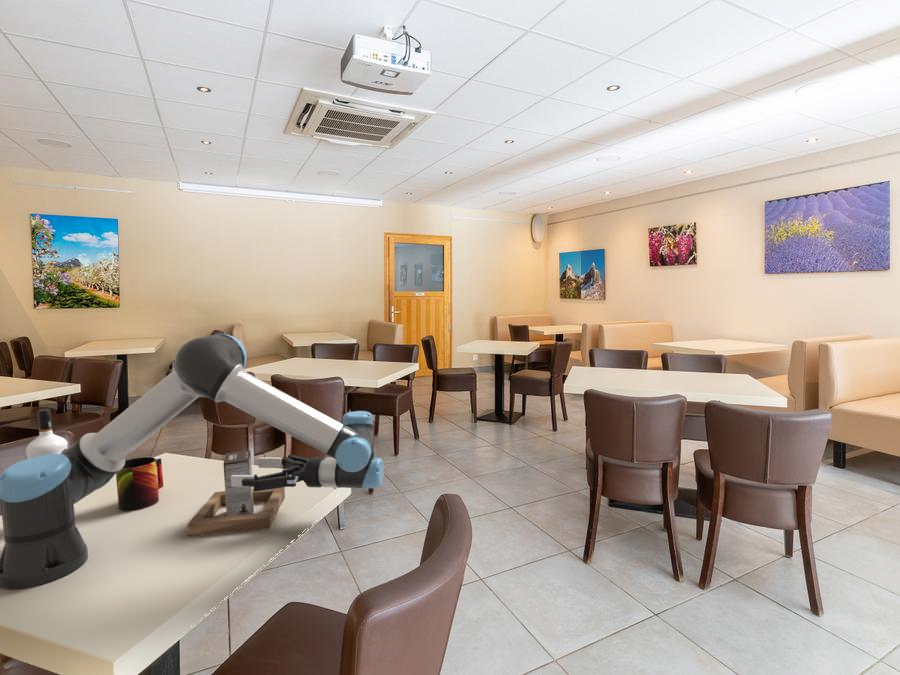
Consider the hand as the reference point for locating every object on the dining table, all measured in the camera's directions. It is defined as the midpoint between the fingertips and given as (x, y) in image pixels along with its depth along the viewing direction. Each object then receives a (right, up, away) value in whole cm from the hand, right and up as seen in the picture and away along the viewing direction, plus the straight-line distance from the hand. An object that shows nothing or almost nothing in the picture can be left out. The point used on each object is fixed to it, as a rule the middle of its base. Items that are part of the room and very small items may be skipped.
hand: (246, 471), depth 129 cm
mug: (-35, -12, +12) cm, 39 cm away
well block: (-2, -12, +1) cm, 12 cm away
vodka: (-50, -13, -1) cm, 52 cm away
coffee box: (-2, -12, +1) cm, 12 cm away
